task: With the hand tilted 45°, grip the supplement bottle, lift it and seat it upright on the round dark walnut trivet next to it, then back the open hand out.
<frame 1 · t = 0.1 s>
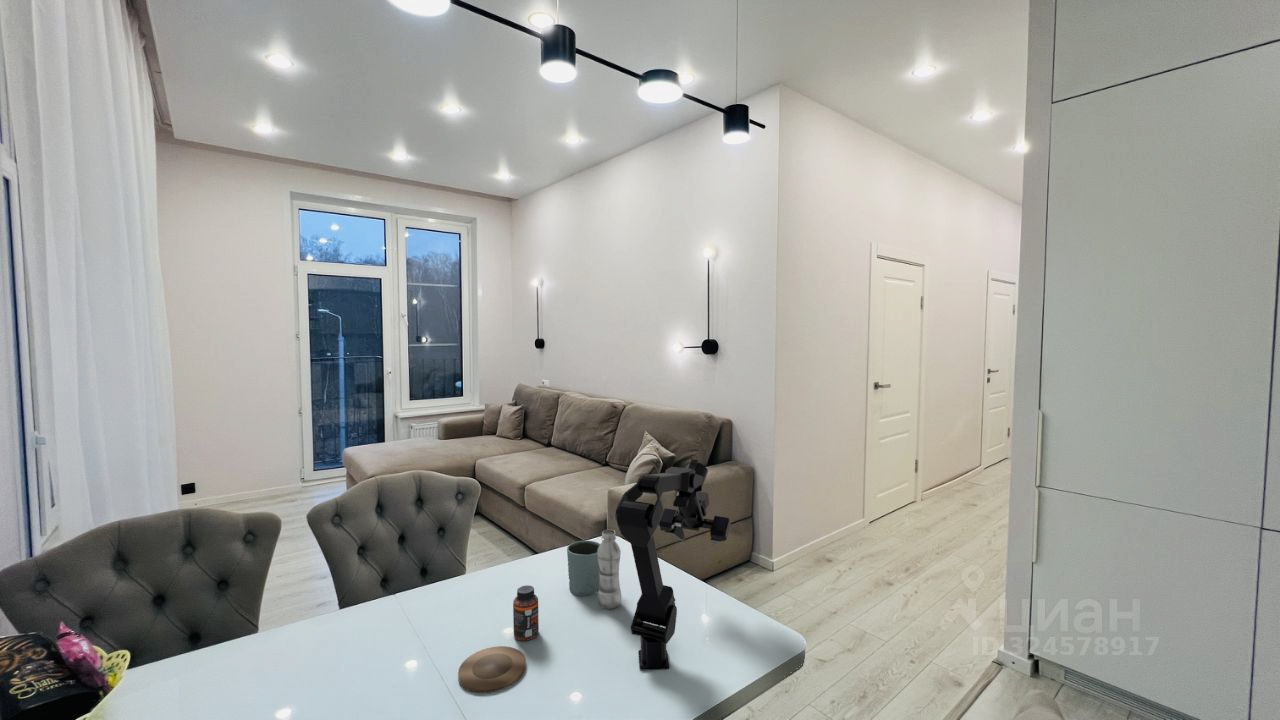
hand: (699, 543, 141), 15 cm above the table, tool tilted 35°, fingers open, 9 cm apart
grey-green cup: (585, 589, 147), on the table
plastic bottle: (609, 606, 137), on the table
walnut trivet: (492, 670, 111), on the table
supplement bottle: (526, 635, 124), on the table
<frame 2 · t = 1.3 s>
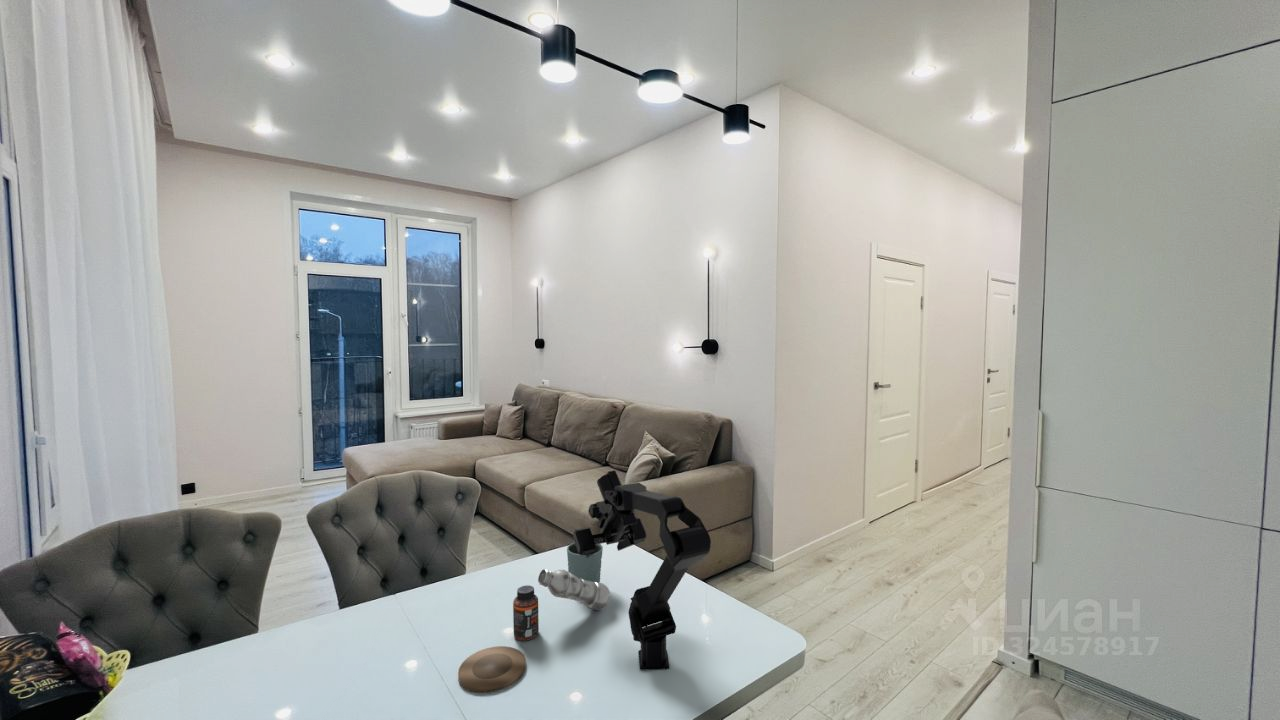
hand: (602, 552, 137), 14 cm above the table, tool tilted 40°, fingers open, 9 cm apart
plastic bottle: (605, 599, 137), point 2 cm above the table
everything else where it was.
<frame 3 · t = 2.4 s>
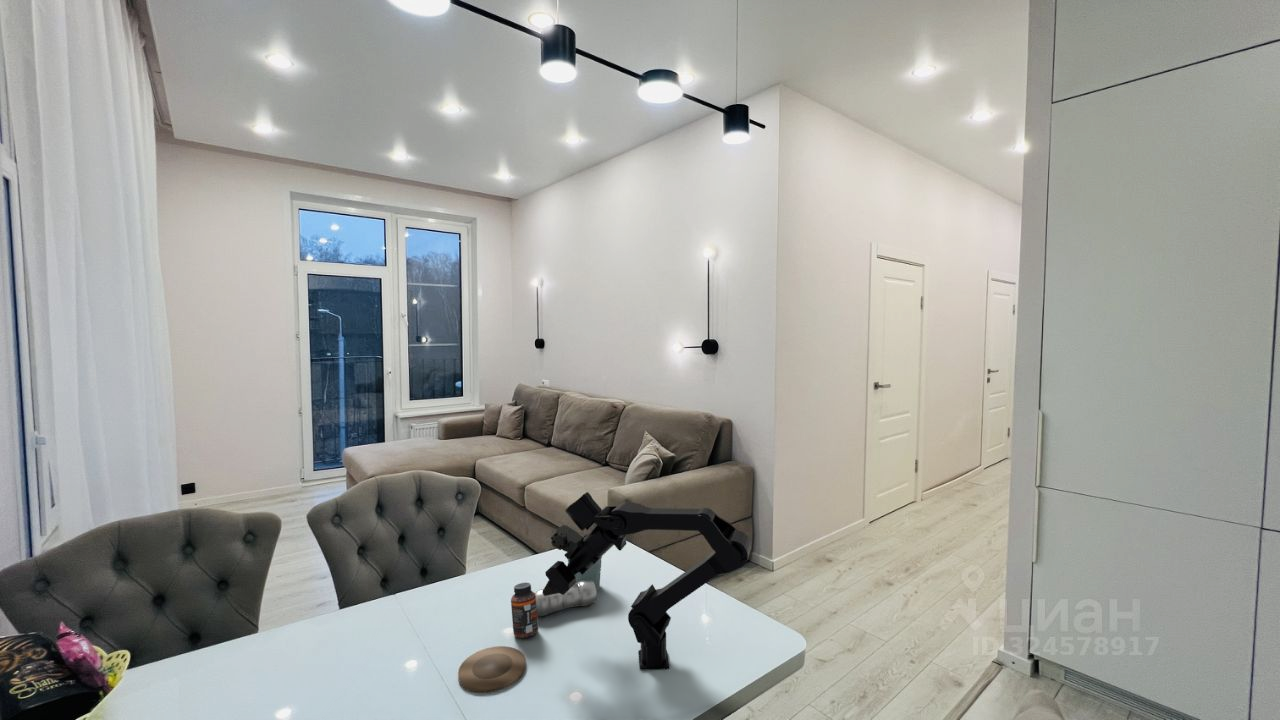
hand: (553, 584, 121), 14 cm above the table, tool tilted 45°, fingers open, 9 cm apart
plastic bottle: (596, 590, 139), point 3 cm above the table
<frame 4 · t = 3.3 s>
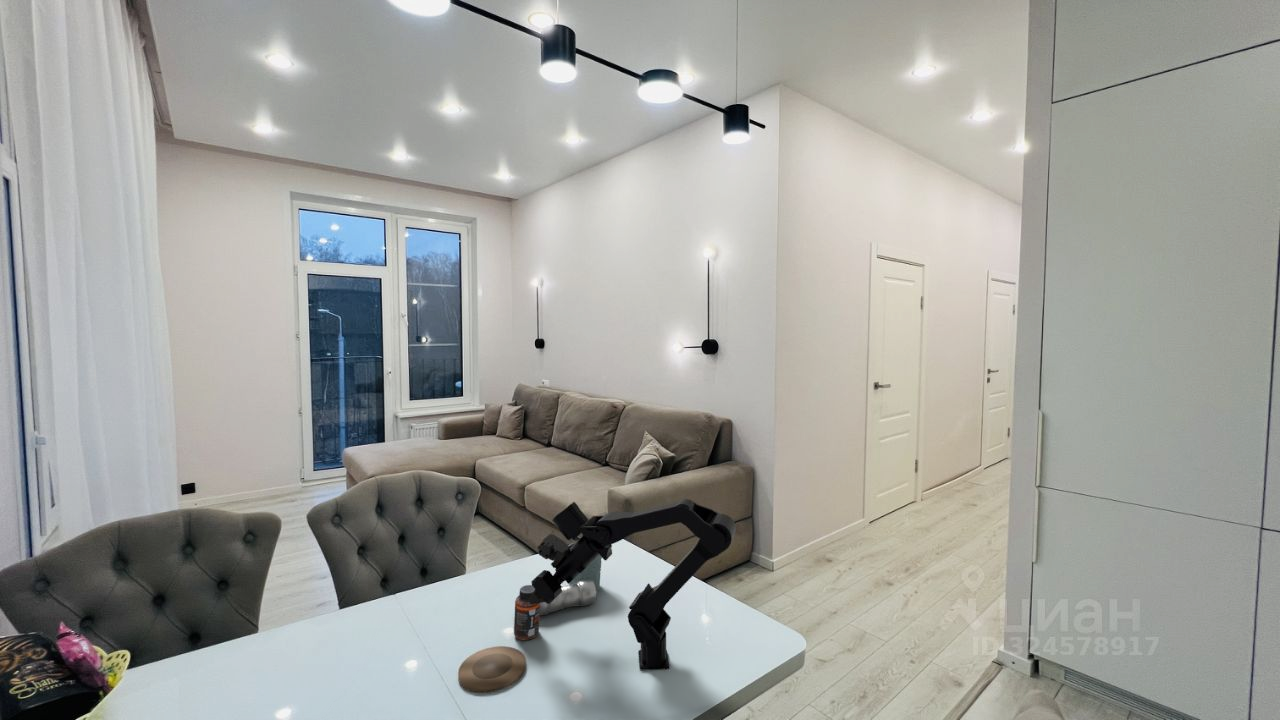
hand: (540, 592, 122), 11 cm above the table, tool tilted 45°, fingers open, 9 cm apart
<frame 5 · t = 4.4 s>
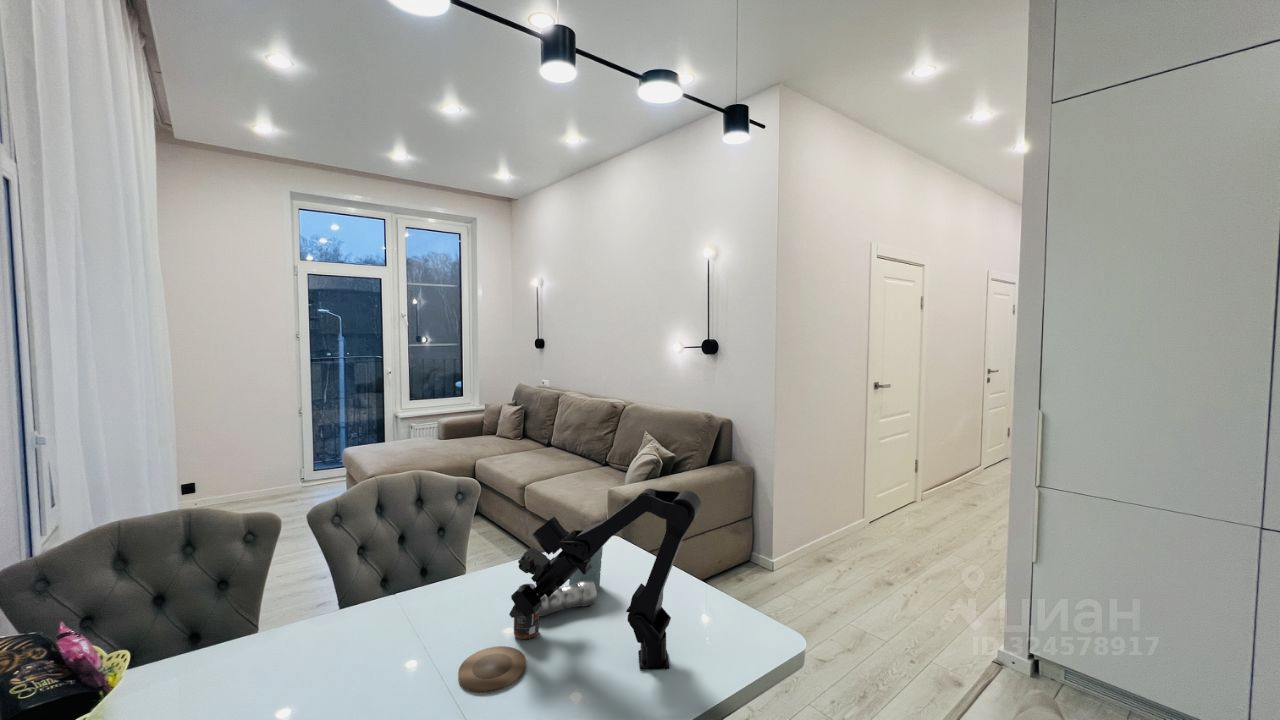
hand: (521, 605, 124), 7 cm above the table, tool tilted 45°, fingers open, 9 cm apart
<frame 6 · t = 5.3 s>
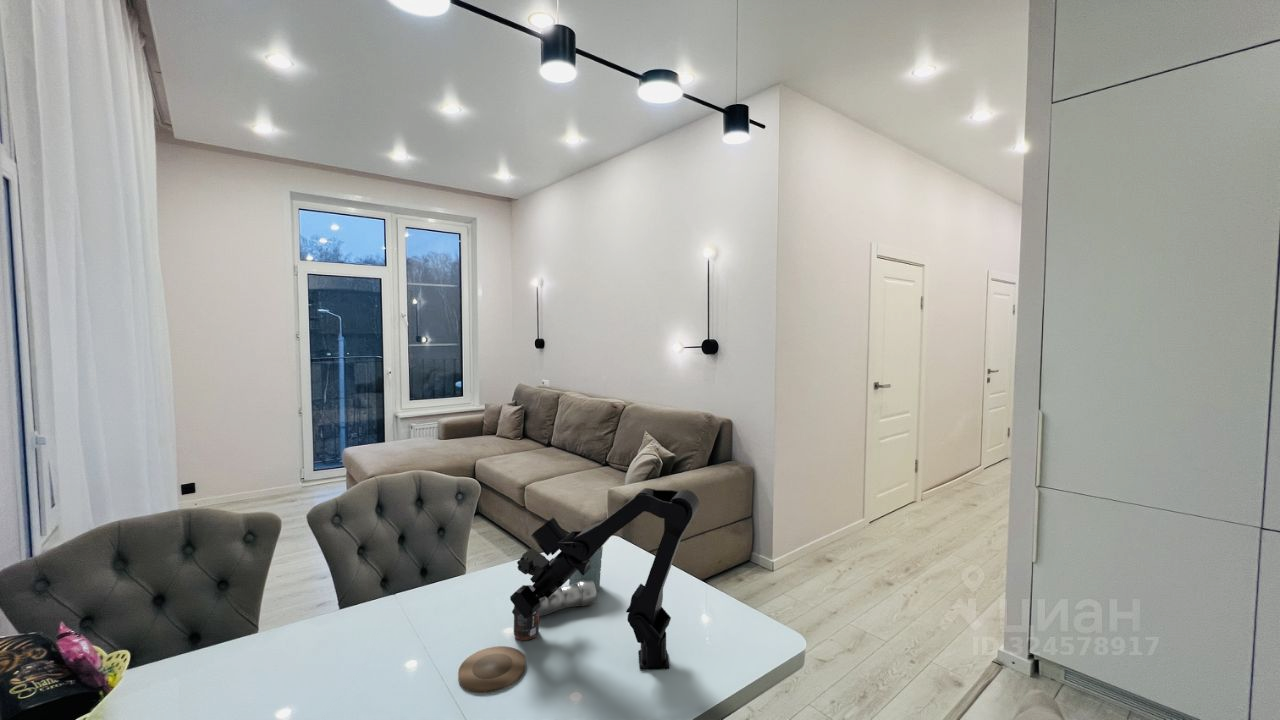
hand: (520, 606, 124), 7 cm above the table, tool tilted 45°, fingers closed on supplement bottle, 6 cm apart
supplement bottle: (526, 634, 124), on the table, touching gripper
everything else where it was.
when the fingers open (9 cm above the table, at t = 9.9 s): supplement bottle drops 1 cm, resting on walnut trivet.
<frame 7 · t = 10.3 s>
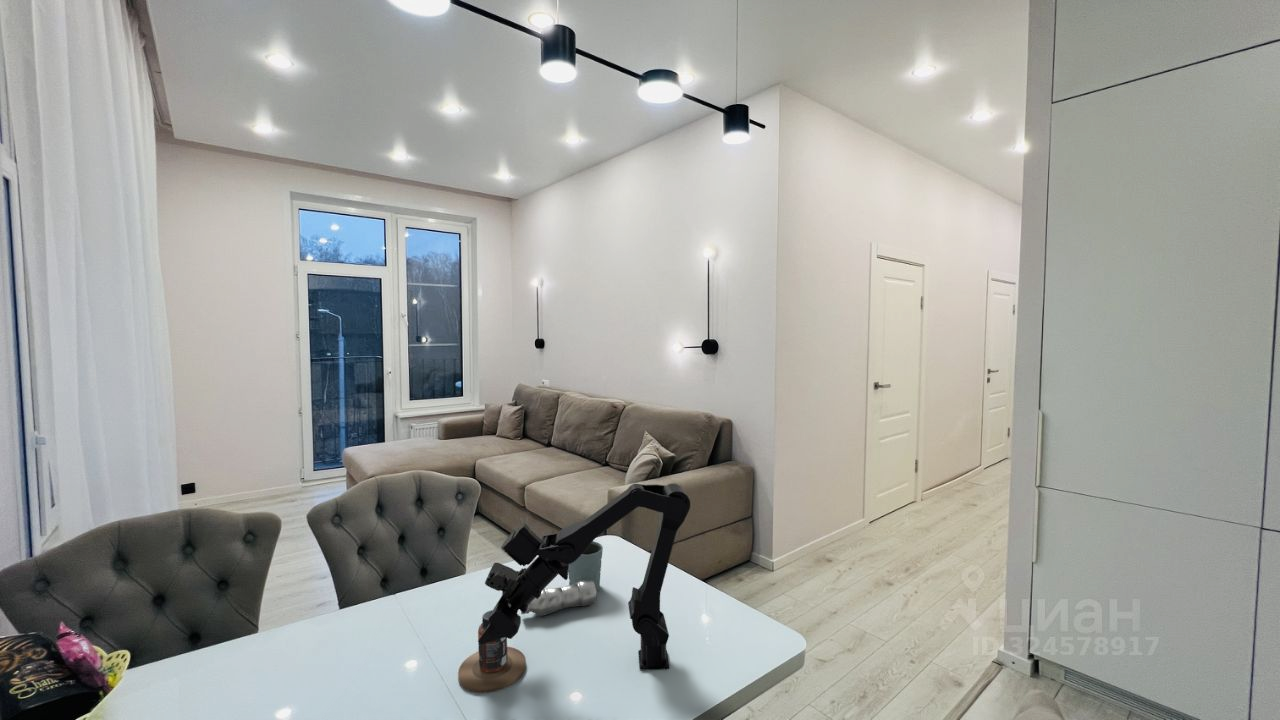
hand: (485, 629, 111), 9 cm above the table, tool tilted 45°, fingers open, 9 cm apart
supplement bottle: (493, 666, 111), point 1 cm above the table, touching walnut trivet
everything else where it was.
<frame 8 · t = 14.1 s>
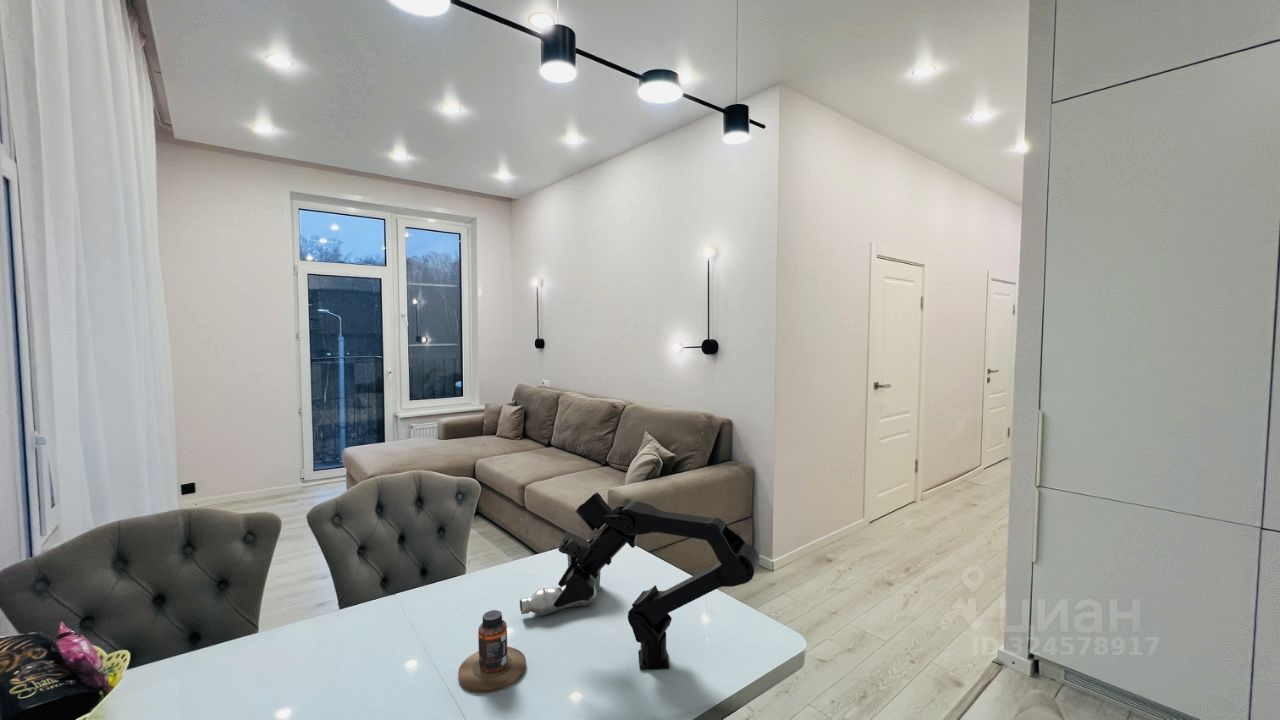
hand: (557, 595, 116), 14 cm above the table, tool tilted 45°, fingers open, 9 cm apart
nothing on the table moved.
at the end: supplement bottle 0.2 cm from the walnut trivet (horizontally); supplement bottle tilted 0°; the gripper is holding nothing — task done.
